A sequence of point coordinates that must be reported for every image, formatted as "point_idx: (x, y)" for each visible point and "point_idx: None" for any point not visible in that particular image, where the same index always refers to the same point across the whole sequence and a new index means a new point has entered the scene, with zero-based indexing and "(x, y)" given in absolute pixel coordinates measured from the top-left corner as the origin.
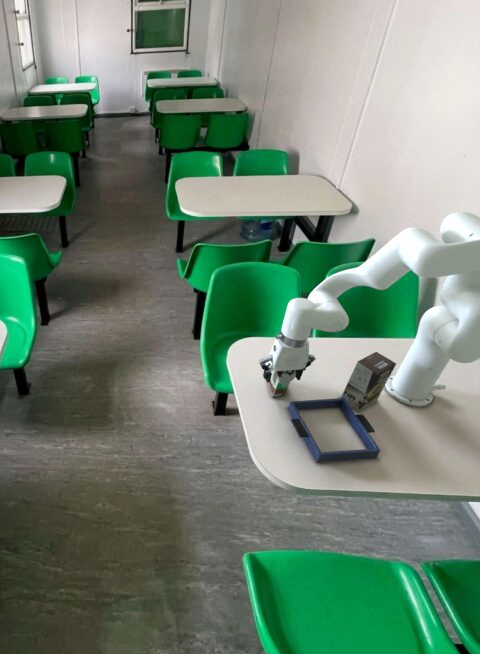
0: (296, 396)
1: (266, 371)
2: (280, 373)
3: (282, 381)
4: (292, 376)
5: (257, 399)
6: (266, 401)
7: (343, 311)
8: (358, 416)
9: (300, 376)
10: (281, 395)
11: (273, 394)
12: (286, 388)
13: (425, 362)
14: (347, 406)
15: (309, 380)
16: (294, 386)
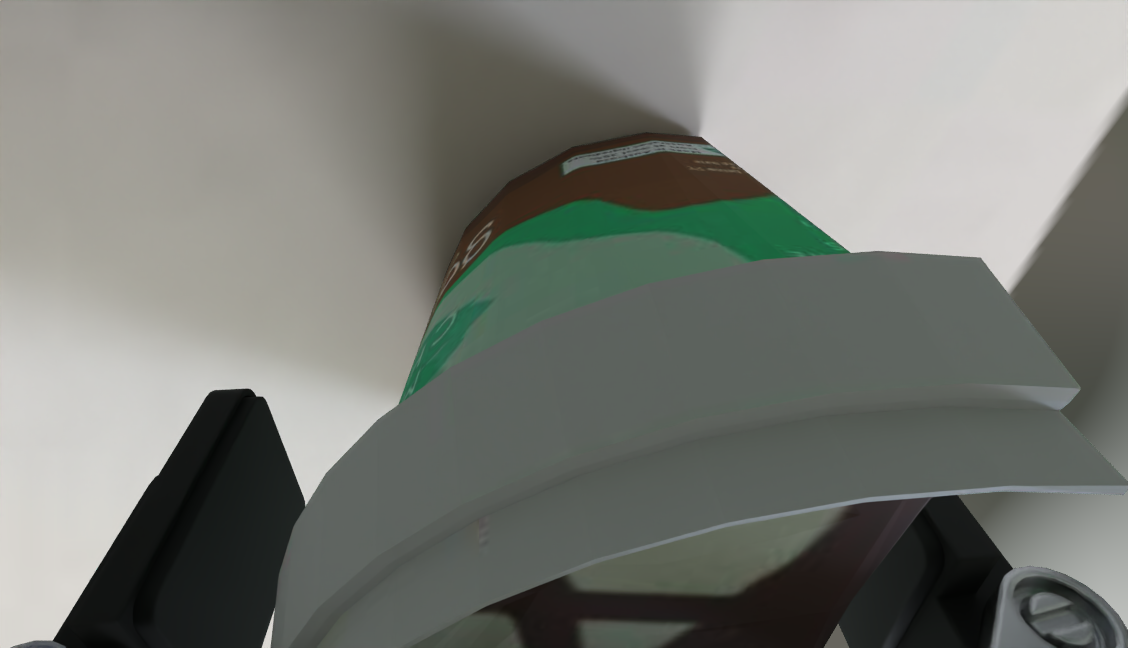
0: (321, 138)
1: (1112, 632)
2: (791, 591)
3: (912, 314)
4: (468, 508)
5: (934, 114)
6: (829, 63)
7: None
8: None
9: (177, 467)
10: (558, 160)
11: (723, 157)
12: (502, 237)
13: None
14: None
15: (93, 392)
16: (311, 313)
